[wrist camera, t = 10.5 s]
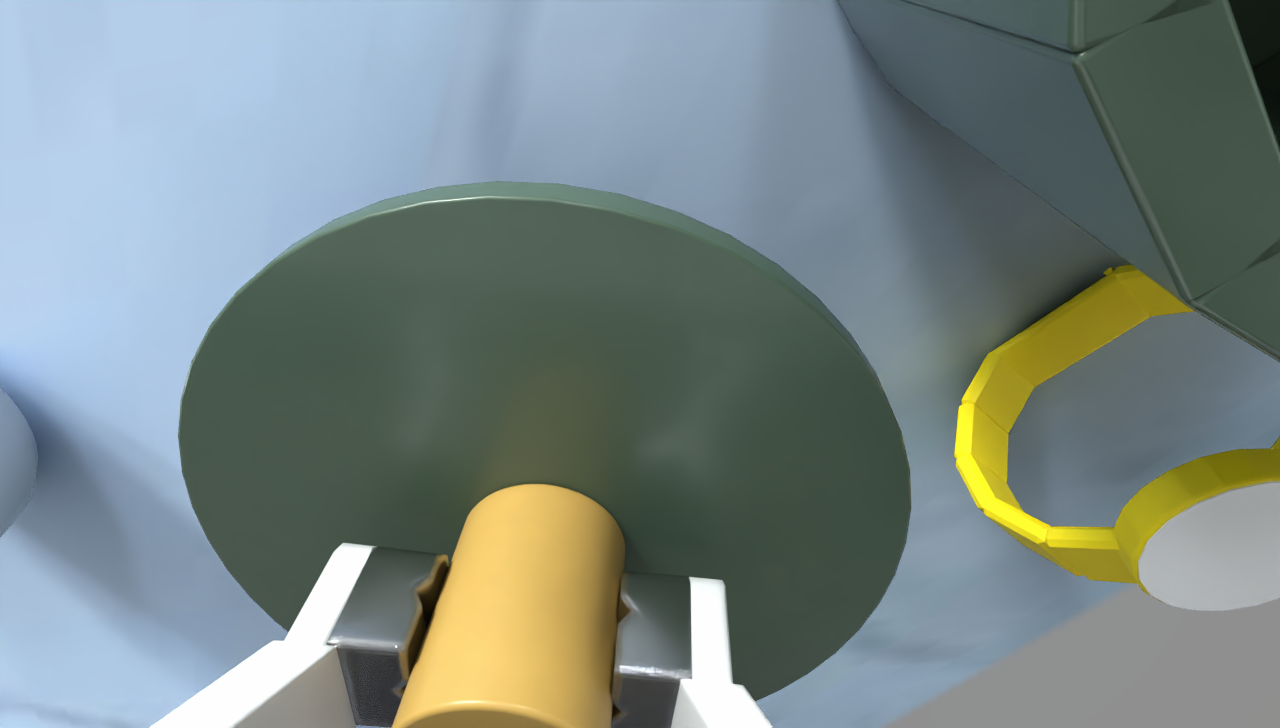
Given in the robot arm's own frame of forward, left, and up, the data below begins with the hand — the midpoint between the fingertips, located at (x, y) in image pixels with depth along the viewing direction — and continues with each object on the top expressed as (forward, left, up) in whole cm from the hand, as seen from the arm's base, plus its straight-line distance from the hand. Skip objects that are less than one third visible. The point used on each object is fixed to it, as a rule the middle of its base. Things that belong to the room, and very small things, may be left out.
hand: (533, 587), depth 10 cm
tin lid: (0, 0, -2) cm, 2 cm away
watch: (-10, -2, -6) cm, 12 cm away
